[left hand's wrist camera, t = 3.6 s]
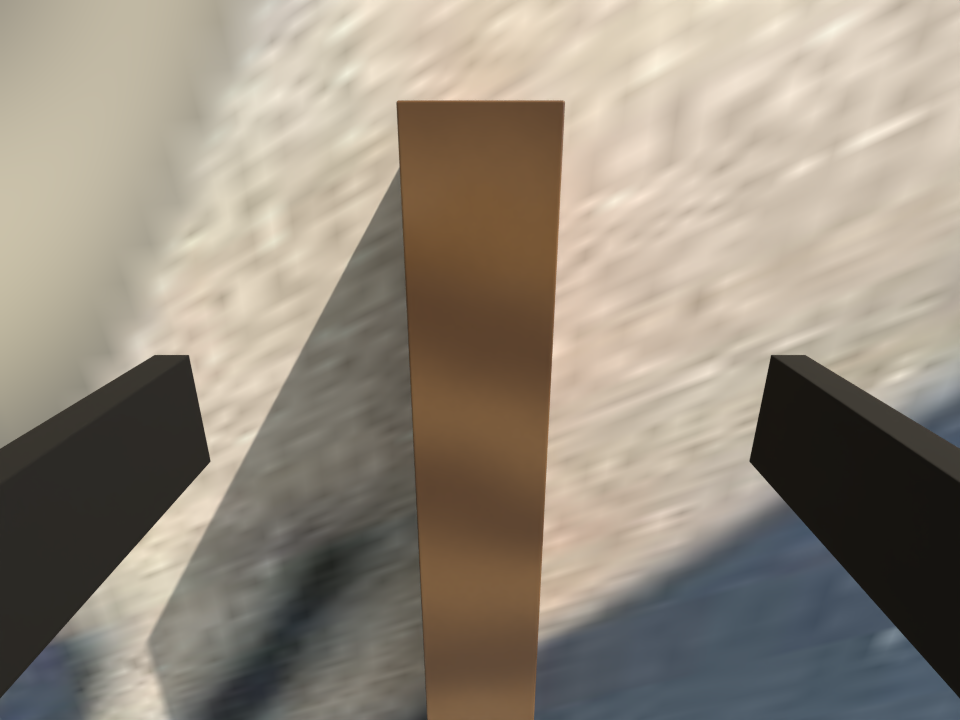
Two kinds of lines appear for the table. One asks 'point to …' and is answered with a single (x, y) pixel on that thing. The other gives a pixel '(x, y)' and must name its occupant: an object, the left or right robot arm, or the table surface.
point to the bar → (480, 387)
